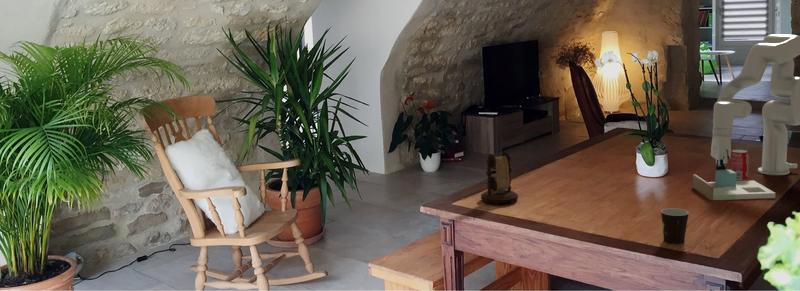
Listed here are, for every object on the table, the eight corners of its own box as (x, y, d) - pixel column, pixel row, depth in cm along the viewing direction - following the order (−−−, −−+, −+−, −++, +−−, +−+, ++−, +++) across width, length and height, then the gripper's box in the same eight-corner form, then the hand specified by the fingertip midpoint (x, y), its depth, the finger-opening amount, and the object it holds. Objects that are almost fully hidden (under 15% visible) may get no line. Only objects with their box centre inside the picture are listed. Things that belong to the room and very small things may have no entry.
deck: (753, 185, 329) (754, 172, 328) (775, 198, 309) (776, 184, 308) (692, 187, 329) (693, 174, 328) (710, 200, 310) (711, 186, 309)
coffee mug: (664, 235, 270) (665, 207, 268) (690, 239, 266) (691, 210, 264) (654, 245, 261) (654, 215, 259) (680, 249, 256) (681, 219, 254)
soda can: (749, 182, 333) (750, 152, 330) (731, 182, 334) (732, 152, 331) (745, 178, 339) (747, 149, 337) (727, 178, 341) (729, 149, 338)
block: (729, 182, 327) (730, 169, 326) (736, 186, 321) (736, 173, 320) (715, 183, 327) (715, 170, 326) (721, 186, 321) (721, 173, 320)
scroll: (494, 208, 311) (493, 158, 307) (474, 200, 323) (473, 152, 319) (525, 202, 317) (525, 153, 313) (504, 194, 330) (503, 147, 326)
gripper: (706, 128, 335) (704, 171, 339) (720, 135, 320) (718, 179, 324) (724, 128, 335) (722, 170, 338) (738, 134, 320) (736, 179, 324)
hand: (720, 174), depth 331 cm, fingers closed
